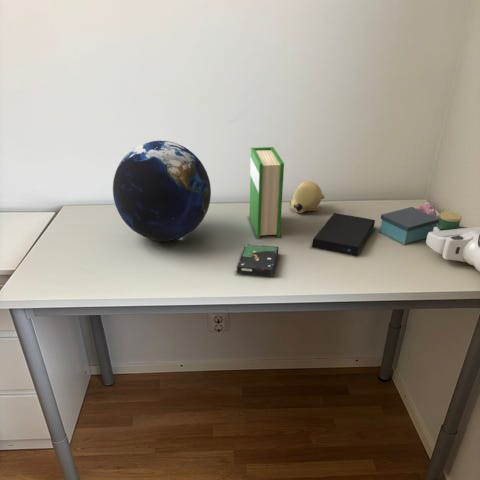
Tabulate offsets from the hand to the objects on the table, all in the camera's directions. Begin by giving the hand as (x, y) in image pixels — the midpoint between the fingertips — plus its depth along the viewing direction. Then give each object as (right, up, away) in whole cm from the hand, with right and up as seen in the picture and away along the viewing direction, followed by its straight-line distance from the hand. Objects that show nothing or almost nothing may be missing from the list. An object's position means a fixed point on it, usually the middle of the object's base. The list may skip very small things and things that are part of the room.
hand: (446, 227), depth 160 cm
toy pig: (-41, +11, +26) cm, 49 cm away
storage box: (-9, 0, +9) cm, 13 cm away
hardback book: (-56, +3, +13) cm, 58 cm away
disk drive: (-59, -12, -9) cm, 61 cm away
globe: (-88, -2, +6) cm, 89 cm away
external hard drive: (-31, -2, +7) cm, 31 cm away
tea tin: (0, -5, +2) cm, 6 cm away
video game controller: (-1, +6, +19) cm, 20 cm away
